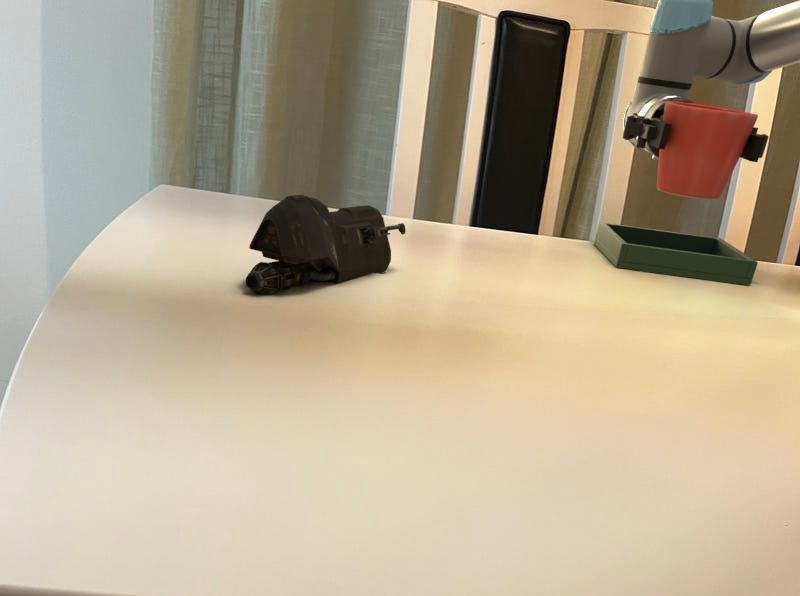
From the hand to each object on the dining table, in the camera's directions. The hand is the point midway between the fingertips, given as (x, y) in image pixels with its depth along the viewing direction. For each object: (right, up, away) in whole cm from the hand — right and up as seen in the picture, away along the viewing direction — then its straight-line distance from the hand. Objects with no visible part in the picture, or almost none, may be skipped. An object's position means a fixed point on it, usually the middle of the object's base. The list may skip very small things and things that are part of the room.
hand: (711, 143), depth 119 cm
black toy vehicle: (-47, -24, -21) cm, 57 cm away
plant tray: (-1, -10, +11) cm, 15 cm away
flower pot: (0, -3, +7) cm, 7 cm away
